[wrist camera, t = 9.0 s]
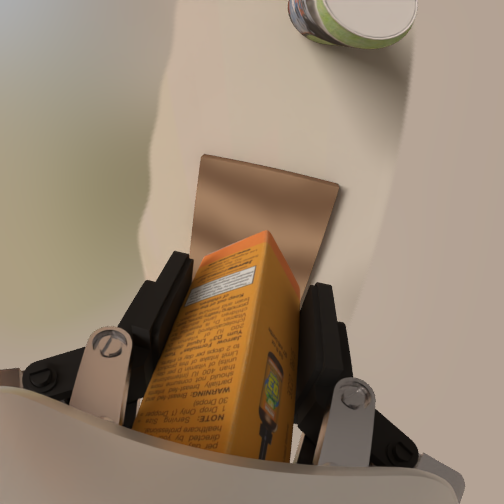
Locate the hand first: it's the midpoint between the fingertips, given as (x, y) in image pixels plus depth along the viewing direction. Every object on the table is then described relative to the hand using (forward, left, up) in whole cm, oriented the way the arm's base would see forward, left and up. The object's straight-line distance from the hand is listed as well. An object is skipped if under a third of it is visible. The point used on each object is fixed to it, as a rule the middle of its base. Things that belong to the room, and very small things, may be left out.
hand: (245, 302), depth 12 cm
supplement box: (0, 0, -2) cm, 2 cm away
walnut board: (+8, 0, -18) cm, 19 cm away
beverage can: (-14, +2, -18) cm, 23 cm away
